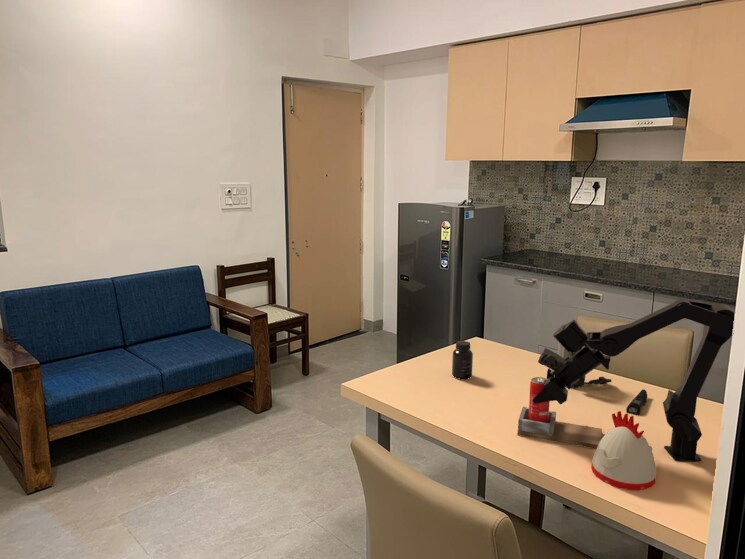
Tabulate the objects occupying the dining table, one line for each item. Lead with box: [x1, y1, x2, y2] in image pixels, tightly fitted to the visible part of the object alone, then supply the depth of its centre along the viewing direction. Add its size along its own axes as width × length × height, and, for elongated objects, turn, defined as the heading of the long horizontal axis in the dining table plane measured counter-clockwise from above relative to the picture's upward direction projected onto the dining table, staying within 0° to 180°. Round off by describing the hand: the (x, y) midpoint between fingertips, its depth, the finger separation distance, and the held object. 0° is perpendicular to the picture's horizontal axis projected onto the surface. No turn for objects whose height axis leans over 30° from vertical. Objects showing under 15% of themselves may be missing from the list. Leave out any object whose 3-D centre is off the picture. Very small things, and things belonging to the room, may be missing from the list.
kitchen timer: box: [591, 410, 657, 491], centre depth 132 cm, size 14×14×15 cm
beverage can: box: [529, 376, 551, 423], centre depth 153 cm, size 5×5×12 cm
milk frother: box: [557, 342, 612, 389], centre depth 185 cm, size 14×16×15 cm
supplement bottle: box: [451, 340, 474, 380], centre depth 192 cm, size 7×7×12 cm
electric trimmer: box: [625, 388, 648, 416], centre depth 171 cm, size 4×16×3 cm, turn 143°
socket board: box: [517, 406, 603, 450], centre depth 153 cm, size 21×10×4 cm, turn 68°
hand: (534, 398), depth 154 cm, fingers closed on beverage can, 5 cm apart
